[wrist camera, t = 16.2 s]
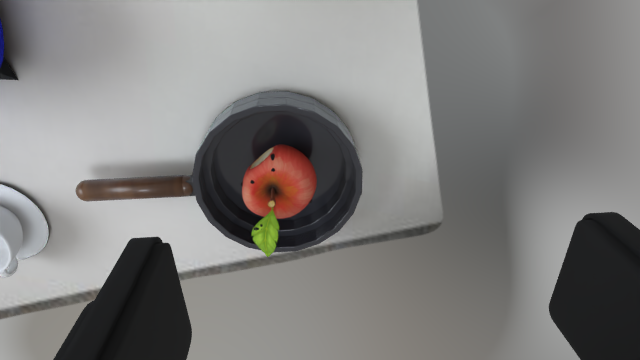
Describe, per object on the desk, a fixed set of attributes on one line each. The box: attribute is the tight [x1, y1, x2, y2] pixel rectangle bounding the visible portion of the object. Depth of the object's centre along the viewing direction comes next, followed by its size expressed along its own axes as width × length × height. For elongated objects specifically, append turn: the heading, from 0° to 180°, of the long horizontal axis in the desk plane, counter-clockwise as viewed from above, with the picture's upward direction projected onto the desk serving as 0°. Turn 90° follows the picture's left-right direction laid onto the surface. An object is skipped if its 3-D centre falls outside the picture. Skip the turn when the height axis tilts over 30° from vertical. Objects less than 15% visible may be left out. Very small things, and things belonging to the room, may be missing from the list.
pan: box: [192, 91, 362, 252], centre depth 40 cm, size 16×16×4 cm
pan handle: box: [76, 175, 196, 201], centre depth 38 cm, size 12×2×2 cm, turn 92°
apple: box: [241, 144, 317, 257], centre depth 37 cm, size 8×7×10 cm
